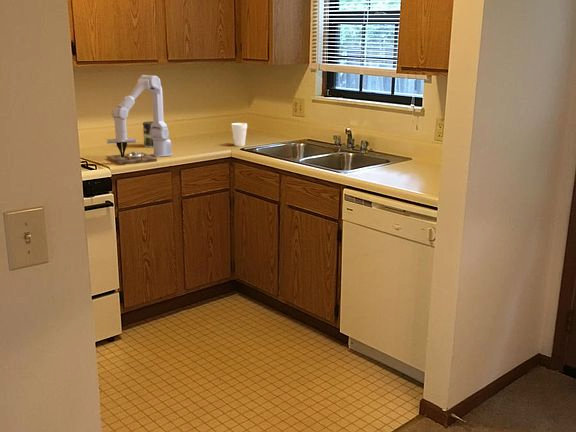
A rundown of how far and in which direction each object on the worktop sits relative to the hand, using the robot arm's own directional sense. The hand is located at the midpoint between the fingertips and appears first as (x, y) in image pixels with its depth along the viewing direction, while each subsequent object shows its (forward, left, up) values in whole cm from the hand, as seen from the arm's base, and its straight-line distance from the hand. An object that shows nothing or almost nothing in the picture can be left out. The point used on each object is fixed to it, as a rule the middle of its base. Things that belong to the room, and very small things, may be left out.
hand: (122, 156), depth 321 cm
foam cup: (-78, -14, -3) cm, 80 cm away
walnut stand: (-6, -4, -3) cm, 8 cm away
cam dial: (-7, -3, -1) cm, 8 cm away
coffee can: (-32, -38, -3) cm, 50 cm away
